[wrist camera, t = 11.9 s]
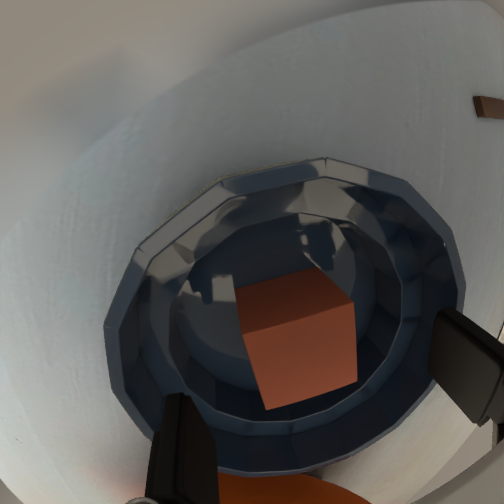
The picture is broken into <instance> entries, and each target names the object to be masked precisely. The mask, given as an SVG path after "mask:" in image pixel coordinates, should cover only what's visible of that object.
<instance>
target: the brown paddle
mask: <svg viewBox="0 0 504 504" xmlns="http://www.w3.org/2000/svg"><path fill="white" fill-rule="evenodd" d="M473 98H474V102H475V106H476V111H477V115H478V117H483V118H495V119H504V100H501V99H496V98H490V97H485V96H475V97H473Z"/></svg>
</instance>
